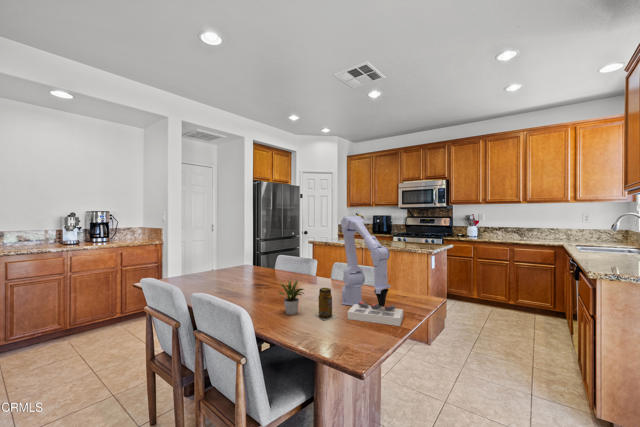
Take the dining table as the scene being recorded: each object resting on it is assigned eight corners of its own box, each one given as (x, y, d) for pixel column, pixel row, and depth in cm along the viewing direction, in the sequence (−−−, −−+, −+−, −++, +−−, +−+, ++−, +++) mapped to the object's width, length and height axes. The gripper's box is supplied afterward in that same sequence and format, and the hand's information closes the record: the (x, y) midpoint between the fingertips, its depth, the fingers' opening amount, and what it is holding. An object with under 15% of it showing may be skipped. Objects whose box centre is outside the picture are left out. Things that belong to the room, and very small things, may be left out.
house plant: (278, 321, 123) (277, 283, 123) (270, 311, 136) (269, 276, 135) (309, 316, 129) (308, 279, 128) (299, 306, 141) (298, 273, 141)
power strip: (347, 319, 124) (347, 311, 124) (357, 308, 138) (356, 300, 138) (399, 326, 116) (399, 317, 116) (404, 313, 130) (404, 306, 130)
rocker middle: (371, 309, 127) (371, 305, 127) (373, 307, 129) (372, 303, 129) (380, 308, 125) (380, 305, 125) (381, 306, 128) (381, 303, 128)
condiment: (328, 312, 134) (328, 286, 133) (337, 317, 126) (337, 290, 126) (314, 314, 130) (314, 288, 130) (323, 320, 123) (322, 292, 123)
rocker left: (358, 306, 129) (358, 302, 129) (359, 304, 132) (360, 301, 132) (366, 308, 128) (367, 305, 127) (368, 306, 130) (368, 303, 130)
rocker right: (385, 311, 124) (384, 307, 124) (386, 309, 127) (385, 305, 127) (394, 310, 123) (393, 306, 123) (395, 308, 125) (394, 304, 126)
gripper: (387, 279, 118) (388, 312, 118) (392, 272, 131) (393, 302, 131) (370, 278, 121) (371, 310, 121) (377, 271, 134) (378, 300, 134)
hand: (381, 306), depth 126 cm, fingers closed, pressing on rocker middle
